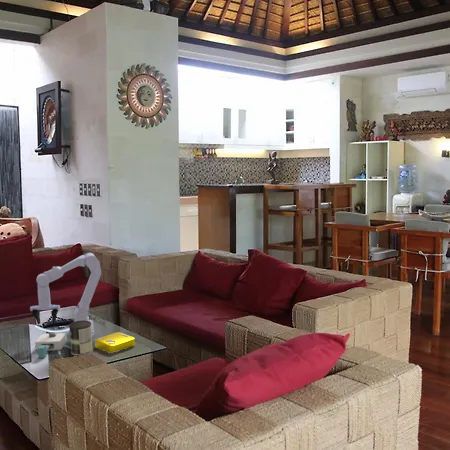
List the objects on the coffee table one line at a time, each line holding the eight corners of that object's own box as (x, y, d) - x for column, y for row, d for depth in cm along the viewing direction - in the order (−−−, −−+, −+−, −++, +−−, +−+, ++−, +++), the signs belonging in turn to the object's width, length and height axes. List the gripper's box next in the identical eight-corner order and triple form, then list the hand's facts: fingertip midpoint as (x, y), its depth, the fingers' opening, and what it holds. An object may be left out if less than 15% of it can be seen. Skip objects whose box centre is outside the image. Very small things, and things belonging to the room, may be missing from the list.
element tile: (136, 346, 275) (136, 336, 275) (111, 355, 265) (110, 345, 264) (119, 339, 286) (118, 330, 285) (93, 347, 275) (93, 338, 274)
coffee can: (69, 356, 264) (67, 327, 262) (73, 348, 274) (71, 321, 272) (91, 355, 265) (89, 326, 262) (94, 347, 275) (92, 319, 273)
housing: (43, 342, 284) (42, 333, 284) (67, 341, 285) (66, 332, 284) (35, 350, 273) (35, 342, 272) (60, 350, 273) (59, 341, 272)
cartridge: (47, 347, 276) (46, 337, 276) (53, 347, 276) (52, 337, 276) (38, 358, 262) (37, 348, 262) (44, 357, 262) (43, 348, 262)
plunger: (56, 336, 282) (55, 332, 281) (54, 338, 279) (54, 334, 278) (50, 336, 282) (49, 332, 281) (48, 338, 279) (48, 334, 278)
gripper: (27, 300, 277) (29, 326, 279) (56, 299, 277) (58, 325, 279) (31, 296, 284) (34, 322, 286) (60, 295, 284) (62, 321, 286)
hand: (46, 323), depth 283 cm, fingers open, 7 cm apart
